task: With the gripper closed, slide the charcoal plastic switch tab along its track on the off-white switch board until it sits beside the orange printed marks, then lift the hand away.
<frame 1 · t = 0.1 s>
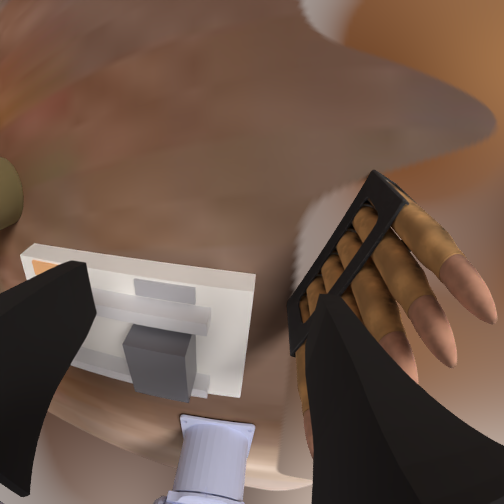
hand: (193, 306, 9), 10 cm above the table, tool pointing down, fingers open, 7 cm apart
switch board: (134, 317, 22), on the table
green chess rook: (2, 190, 18), on the table
ammunition clip: (338, 247, 19), on the table
switch tab: (163, 360, 19), point 4 cm above the table, slide at 0.0 cm
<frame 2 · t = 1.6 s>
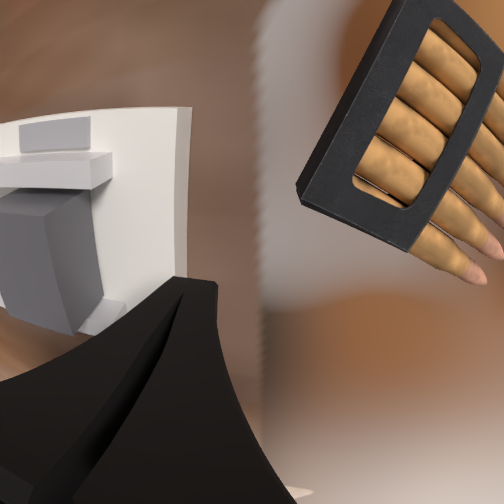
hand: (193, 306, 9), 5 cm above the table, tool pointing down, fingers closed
switch board: (36, 217, 14), on the table
ammunition clip: (356, 70, 9), point 1 cm above the table
switch tab: (41, 256, 10), point 4 cm above the table, slide at 0.0 cm
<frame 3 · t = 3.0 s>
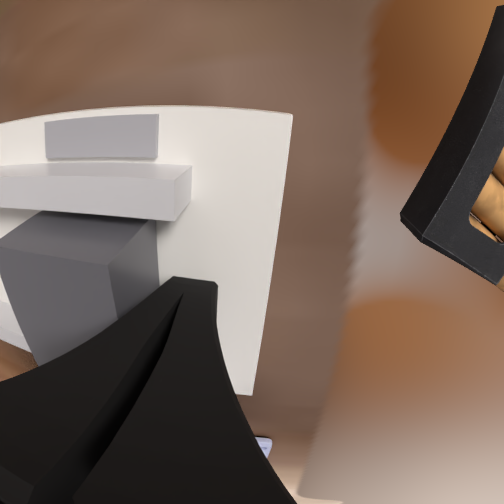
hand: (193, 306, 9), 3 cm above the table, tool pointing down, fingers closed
switch board: (63, 239, 12), on the table
ammunition clip: (473, 95, 7), point 1 cm above the table
switch tab: (86, 302, 8), point 4 cm above the table, slide at 0.0 cm, touching gripper
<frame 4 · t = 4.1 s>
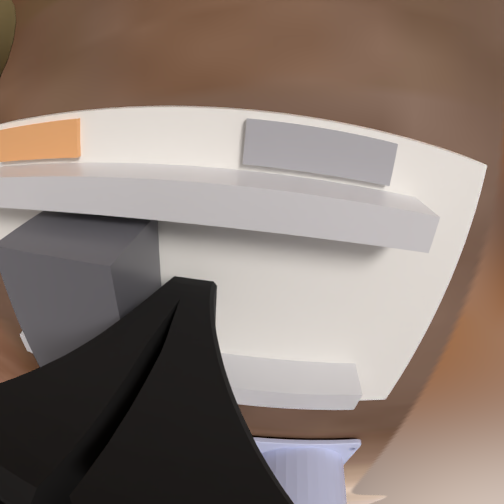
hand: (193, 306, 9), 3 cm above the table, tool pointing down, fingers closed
switch board: (199, 256, 11), on the table
switch tab: (87, 303, 8), point 4 cm above the table, slide at 6.3 cm, touching gripper
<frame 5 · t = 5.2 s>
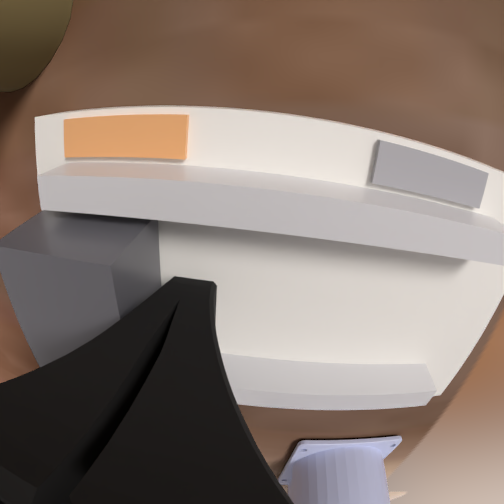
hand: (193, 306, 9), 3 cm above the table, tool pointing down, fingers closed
switch board: (290, 267, 11), on the table
green chess rook: (24, 29, 7), on the table
switch tab: (87, 302, 8), point 4 cm above the table, slide at 9.8 cm, touching gripper
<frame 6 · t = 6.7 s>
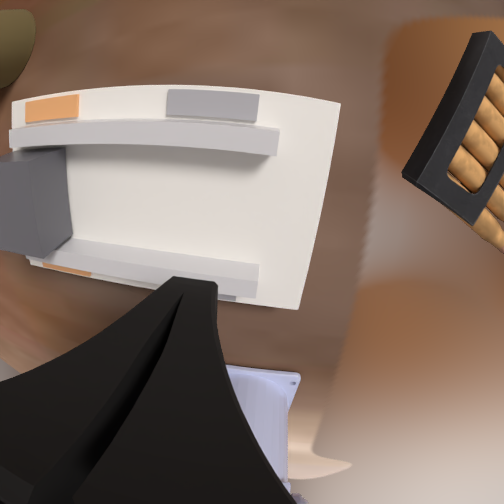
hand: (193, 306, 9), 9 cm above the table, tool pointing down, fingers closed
switch board: (150, 185, 16), on the table
green chess rook: (9, 48, 12), on the table
ammunition clip: (449, 95, 11), point 1 cm above the table
switch tab: (27, 199, 13), point 4 cm above the table, slide at 9.8 cm
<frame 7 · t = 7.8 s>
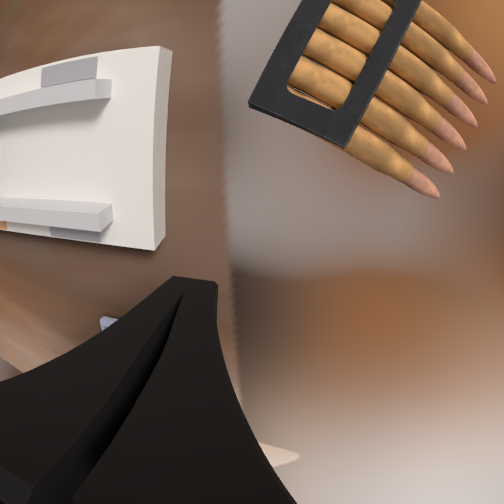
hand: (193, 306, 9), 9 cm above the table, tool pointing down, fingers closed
switch board: (45, 148, 16), on the table
ammunition clip: (289, 14, 11), point 1 cm above the table
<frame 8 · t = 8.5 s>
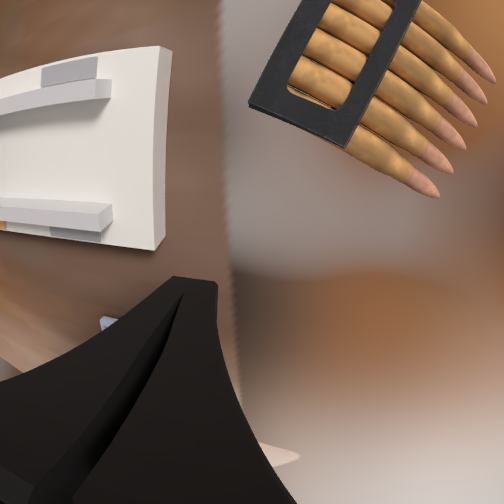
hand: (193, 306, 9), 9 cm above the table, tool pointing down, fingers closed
switch board: (45, 148, 16), on the table
ammunition clip: (289, 14, 11), point 1 cm above the table
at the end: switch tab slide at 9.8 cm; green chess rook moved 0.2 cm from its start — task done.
